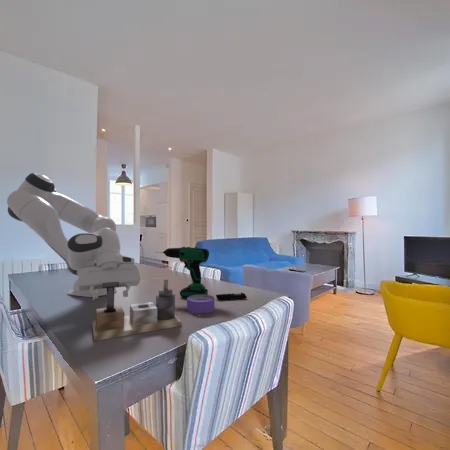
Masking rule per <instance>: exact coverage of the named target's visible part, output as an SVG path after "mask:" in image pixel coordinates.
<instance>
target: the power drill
mask: <svg viewBox="0 0 450 450" xmlns="http://www.w3.org/2000/svg"><path fill="white" fill-rule="evenodd" d="M156 253H161V254H163V255H165V257H167V258H173V259H179V261H180V263H182V262H183V263H184V267H183V268H184V269H187V270H188V271H189V275H190V277H191V281H192V283H190V284H189V285H187V287H184V288H182V289H181V290H180V291H179V296H180V297H181V298H185V299H187V298H188V297H189V296H192V295H209V294H208V291H209V290H208V289H207V288H206V286H205V285H204V284H203V283H202V273H201V268H200V264H202V263H207V262H208V259H209V258H210V257H209V256H210V251H209V250H208V249H206V248H201V247H197V246H195V247H191V246H187V247H186V246H181V247H172V248H171V247H170V248H167V249H165V250H164V251H156Z"/></svg>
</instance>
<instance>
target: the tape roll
mask: <svg viewBox="0 0 450 450" xmlns="http://www.w3.org/2000/svg"><path fill="white" fill-rule="evenodd" d="M215 300H216V299H215V297H214V296H213V295H211V294H208V295H192V296H189V297H188V298H186V302H187V303H186V311H187V312H188V313H191V314H196V315H197V314H199V315H200V314H201V315H202V314H204V313H205V314H210V313H212V312H214V311H215V302H216V301H215ZM213 310H214V311H213ZM209 312H210V313H209ZM205 314H204V315H205Z"/></svg>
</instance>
